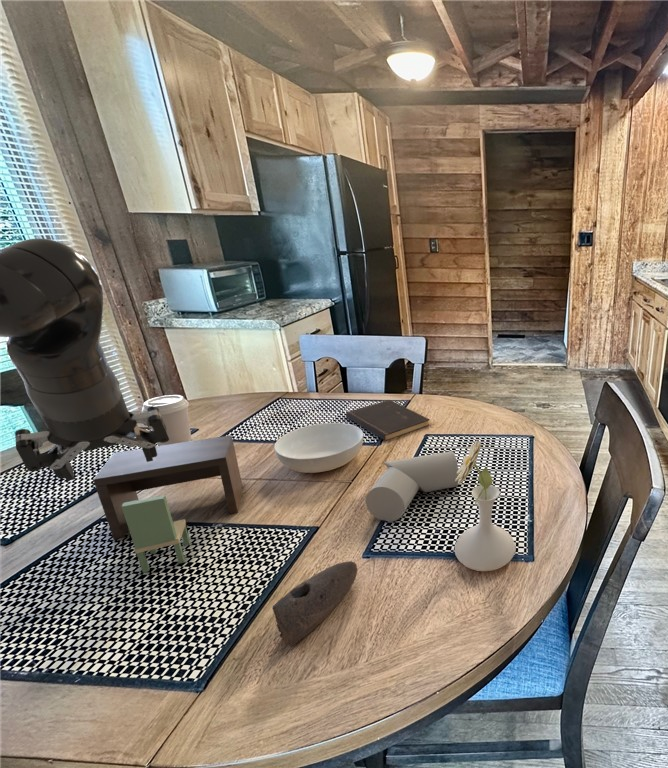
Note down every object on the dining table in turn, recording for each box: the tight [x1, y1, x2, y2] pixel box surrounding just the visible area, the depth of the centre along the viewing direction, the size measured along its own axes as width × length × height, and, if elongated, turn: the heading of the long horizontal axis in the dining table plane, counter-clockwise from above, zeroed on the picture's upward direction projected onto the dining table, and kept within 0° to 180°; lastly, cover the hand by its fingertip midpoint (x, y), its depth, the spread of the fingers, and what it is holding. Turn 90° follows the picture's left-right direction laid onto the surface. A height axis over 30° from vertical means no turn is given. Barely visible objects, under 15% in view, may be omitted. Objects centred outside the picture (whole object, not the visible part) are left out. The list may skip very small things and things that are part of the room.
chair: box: [122, 494, 191, 574], centre depth 73 cm, size 6×6×14 cm
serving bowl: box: [273, 422, 364, 474], centre depth 107 cm, size 21×21×7 cm
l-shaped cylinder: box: [365, 450, 460, 522], centre depth 94 cm, size 18×11×20 cm
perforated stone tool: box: [272, 561, 358, 648], centre depth 64 cm, size 15×5×7 cm, turn 152°
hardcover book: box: [346, 399, 431, 442], centre depth 133 cm, size 16×23×2 cm
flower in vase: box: [454, 440, 516, 572], centre depth 74 cm, size 13×11×25 cm
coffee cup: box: [141, 394, 193, 446], centre depth 108 cm, size 10×10×15 cm
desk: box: [92, 435, 243, 541], centre depth 86 cm, size 11×20×14 cm, turn 117°
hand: (111, 465), depth 61 cm, fingers open, 8 cm apart
